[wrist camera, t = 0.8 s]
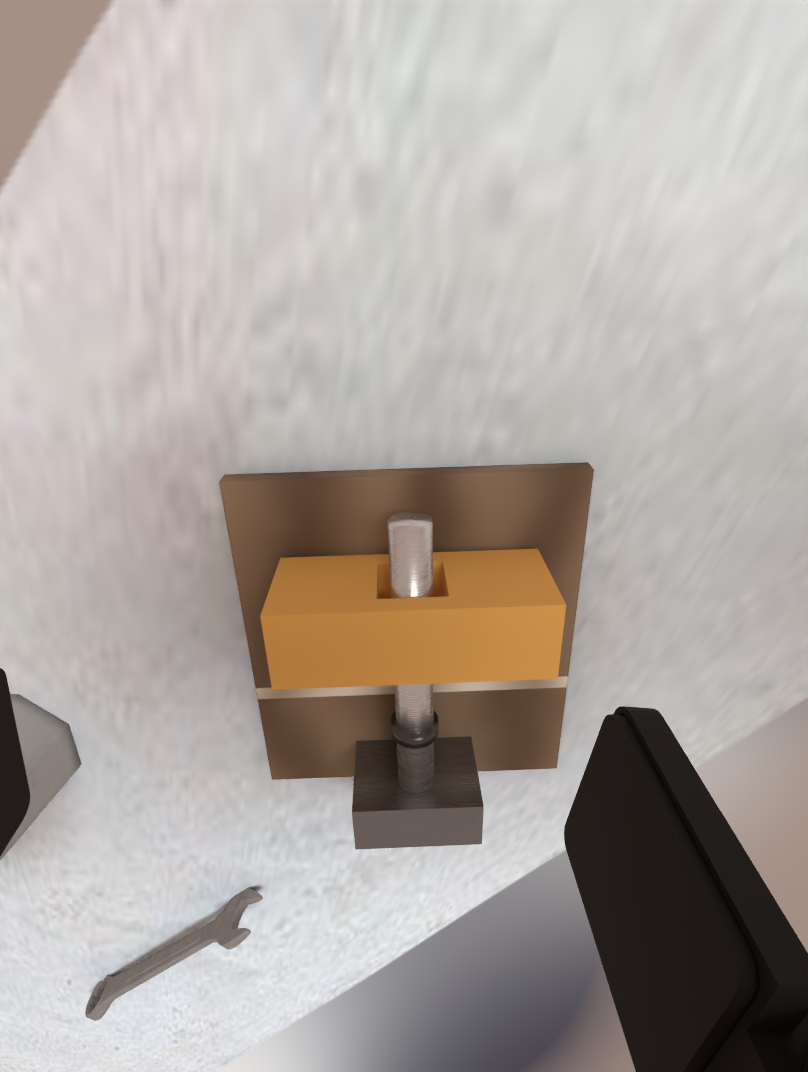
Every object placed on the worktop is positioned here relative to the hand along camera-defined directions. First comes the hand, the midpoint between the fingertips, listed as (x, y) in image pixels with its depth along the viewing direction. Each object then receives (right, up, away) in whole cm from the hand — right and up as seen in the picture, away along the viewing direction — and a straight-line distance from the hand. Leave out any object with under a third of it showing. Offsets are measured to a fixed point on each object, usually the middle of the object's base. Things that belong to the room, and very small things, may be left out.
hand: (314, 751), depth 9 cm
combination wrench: (-16, -28, +37) cm, 49 cm away
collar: (+2, +1, +21) cm, 21 cm away
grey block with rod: (+2, -3, +23) cm, 24 cm away
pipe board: (+2, -2, +24) cm, 24 cm away
